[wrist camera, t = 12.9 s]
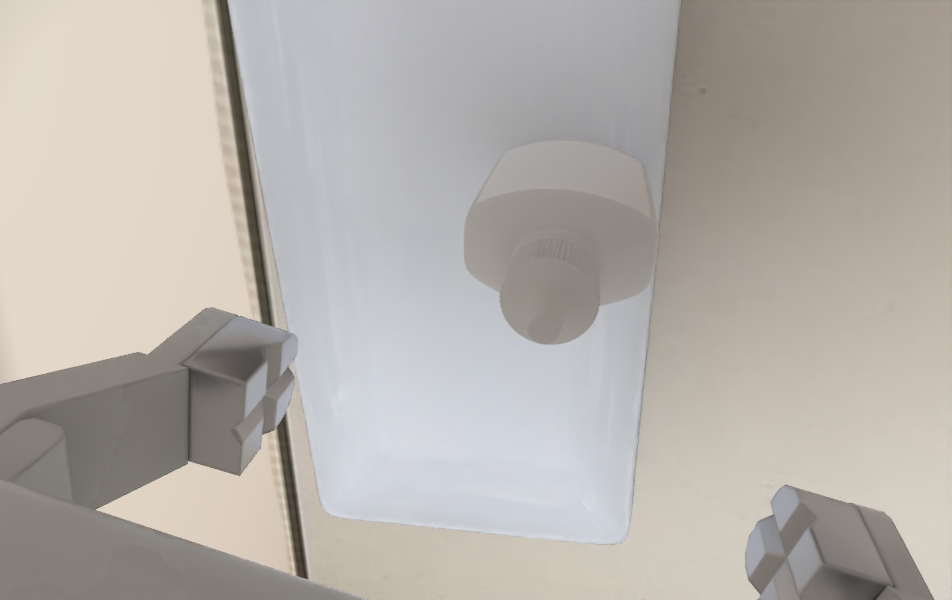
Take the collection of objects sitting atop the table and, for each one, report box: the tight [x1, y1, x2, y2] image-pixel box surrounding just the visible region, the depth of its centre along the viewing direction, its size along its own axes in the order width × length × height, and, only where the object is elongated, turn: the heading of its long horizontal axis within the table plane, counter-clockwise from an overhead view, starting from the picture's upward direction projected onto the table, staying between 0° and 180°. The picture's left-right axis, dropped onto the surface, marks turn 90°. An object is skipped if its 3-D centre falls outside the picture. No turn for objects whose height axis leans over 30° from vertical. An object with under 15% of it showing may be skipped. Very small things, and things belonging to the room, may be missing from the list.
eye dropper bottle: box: [464, 138, 659, 345], centre depth 19 cm, size 4×6×12 cm
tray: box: [228, 0, 682, 545], centre depth 29 cm, size 17×32×4 cm, turn 2°
